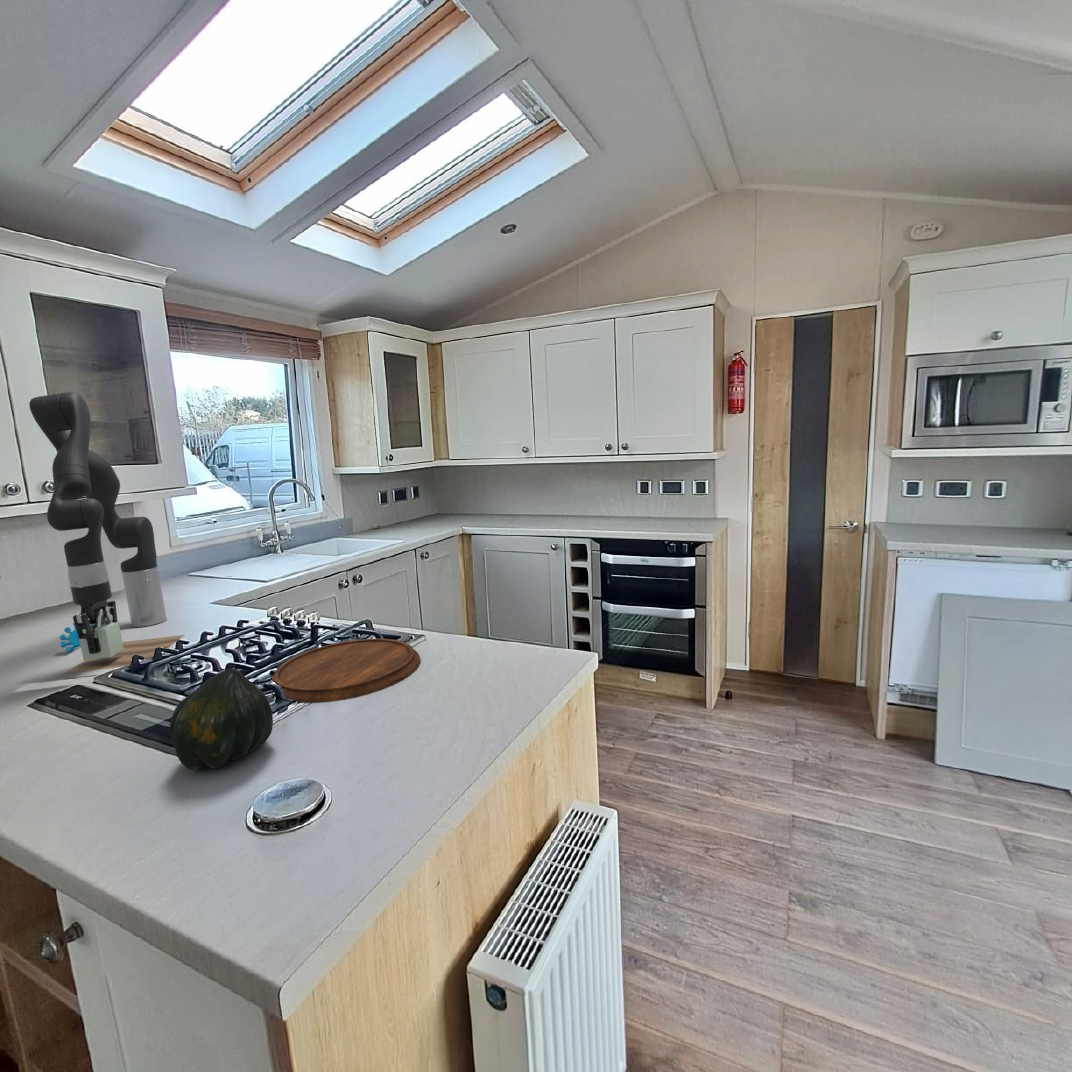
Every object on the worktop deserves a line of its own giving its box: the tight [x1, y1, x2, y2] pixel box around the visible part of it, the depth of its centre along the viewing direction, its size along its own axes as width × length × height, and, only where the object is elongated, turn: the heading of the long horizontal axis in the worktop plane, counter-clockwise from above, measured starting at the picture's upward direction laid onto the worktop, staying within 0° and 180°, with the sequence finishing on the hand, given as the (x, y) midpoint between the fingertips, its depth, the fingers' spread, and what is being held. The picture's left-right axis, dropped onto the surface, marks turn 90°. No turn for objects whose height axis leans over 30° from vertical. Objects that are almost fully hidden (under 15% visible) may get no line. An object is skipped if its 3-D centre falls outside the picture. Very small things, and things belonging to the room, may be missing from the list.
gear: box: [59, 622, 94, 653], centre depth 161 cm, size 11×6×10 cm
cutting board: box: [271, 638, 421, 704], centre depth 130 cm, size 32×32×2 cm
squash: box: [169, 667, 274, 771], centre depth 95 cm, size 14×15×15 cm
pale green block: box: [79, 621, 124, 661], centre depth 143 cm, size 6×6×7 cm
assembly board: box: [64, 634, 185, 680], centre depth 149 cm, size 22×18×6 cm
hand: (102, 648), depth 144 cm, fingers closed on pale green block, 6 cm apart
